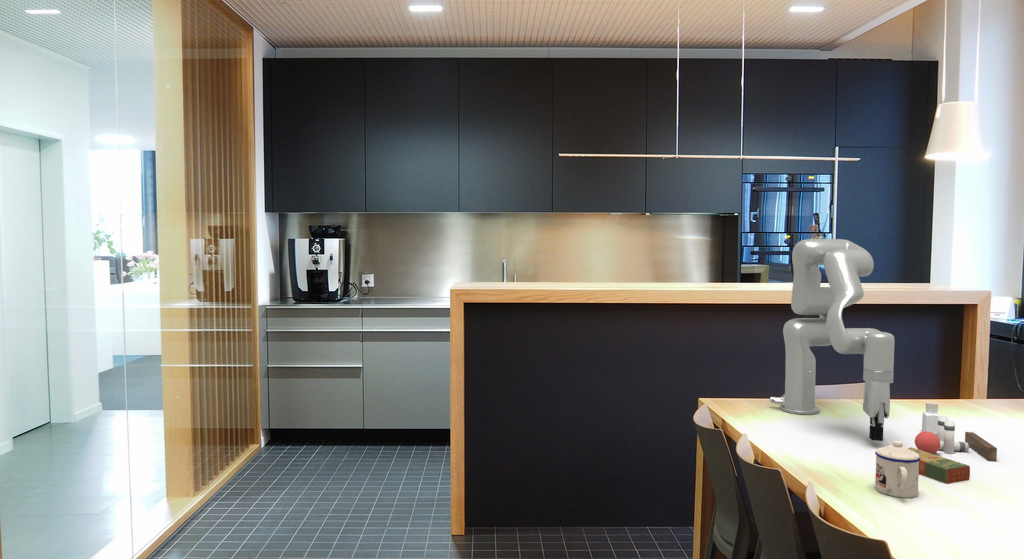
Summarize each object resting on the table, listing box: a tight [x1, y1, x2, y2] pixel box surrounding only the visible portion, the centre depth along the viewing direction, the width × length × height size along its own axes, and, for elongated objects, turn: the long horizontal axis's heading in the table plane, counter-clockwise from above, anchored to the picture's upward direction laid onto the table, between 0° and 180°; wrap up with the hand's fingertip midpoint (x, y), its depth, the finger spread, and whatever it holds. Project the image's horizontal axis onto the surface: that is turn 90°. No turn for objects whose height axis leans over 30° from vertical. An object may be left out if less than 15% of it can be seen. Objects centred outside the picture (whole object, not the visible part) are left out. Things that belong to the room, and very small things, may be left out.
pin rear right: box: [942, 420, 956, 455], centre depth 190 cm, size 2×2×8 cm
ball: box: [914, 431, 940, 454], centre depth 189 cm, size 6×6×6 cm
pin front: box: [938, 441, 970, 452], centre depth 192 cm, size 2×2×8 cm
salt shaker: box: [921, 401, 941, 435], centre depth 209 cm, size 4×4×10 cm
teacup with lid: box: [874, 440, 920, 499], centre depth 159 cm, size 12×9×12 cm
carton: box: [907, 447, 971, 485], centre depth 174 cm, size 8×16×4 cm, turn 21°
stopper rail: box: [964, 431, 998, 462], centre depth 191 cm, size 2×16×4 cm, turn 166°
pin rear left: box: [937, 415, 949, 441], centre depth 195 cm, size 2×2×8 cm
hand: (876, 439), depth 197 cm, fingers closed
